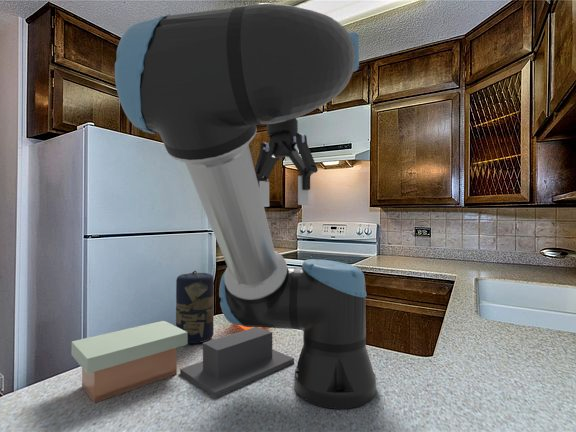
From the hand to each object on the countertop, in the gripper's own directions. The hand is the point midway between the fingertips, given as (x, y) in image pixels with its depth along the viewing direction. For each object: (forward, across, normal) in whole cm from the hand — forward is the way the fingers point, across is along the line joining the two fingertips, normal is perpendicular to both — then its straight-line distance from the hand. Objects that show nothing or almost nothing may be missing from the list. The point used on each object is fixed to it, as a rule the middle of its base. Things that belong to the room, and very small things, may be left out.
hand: (282, 205), depth 81 cm
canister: (+35, +21, +12) cm, 42 cm away
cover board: (+29, +10, +32) cm, 44 cm away
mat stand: (+35, -1, +14) cm, 37 cm away
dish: (+35, +10, +32) cm, 48 cm away
